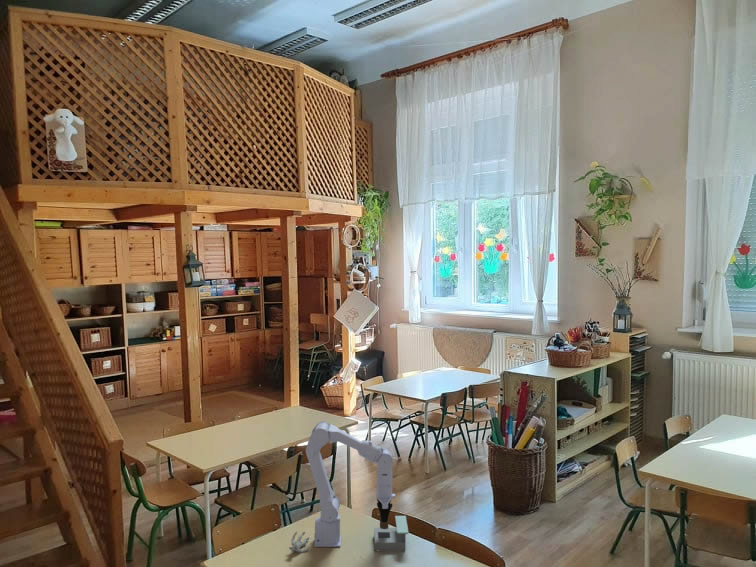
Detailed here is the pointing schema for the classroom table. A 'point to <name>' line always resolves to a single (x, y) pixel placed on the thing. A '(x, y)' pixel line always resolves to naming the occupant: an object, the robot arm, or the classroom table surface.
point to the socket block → (392, 536)
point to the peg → (384, 523)
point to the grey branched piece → (298, 543)
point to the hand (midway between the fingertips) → (384, 519)
